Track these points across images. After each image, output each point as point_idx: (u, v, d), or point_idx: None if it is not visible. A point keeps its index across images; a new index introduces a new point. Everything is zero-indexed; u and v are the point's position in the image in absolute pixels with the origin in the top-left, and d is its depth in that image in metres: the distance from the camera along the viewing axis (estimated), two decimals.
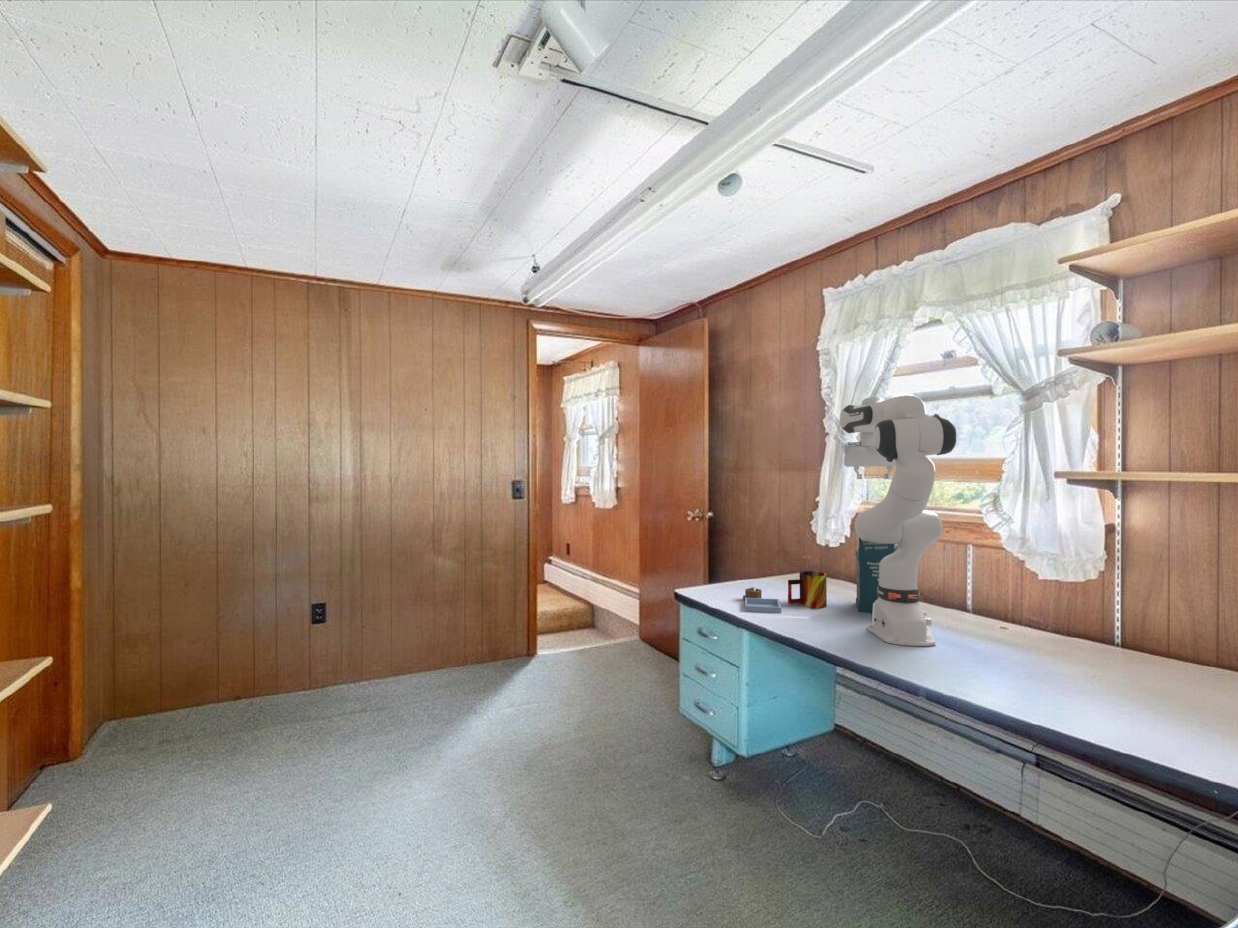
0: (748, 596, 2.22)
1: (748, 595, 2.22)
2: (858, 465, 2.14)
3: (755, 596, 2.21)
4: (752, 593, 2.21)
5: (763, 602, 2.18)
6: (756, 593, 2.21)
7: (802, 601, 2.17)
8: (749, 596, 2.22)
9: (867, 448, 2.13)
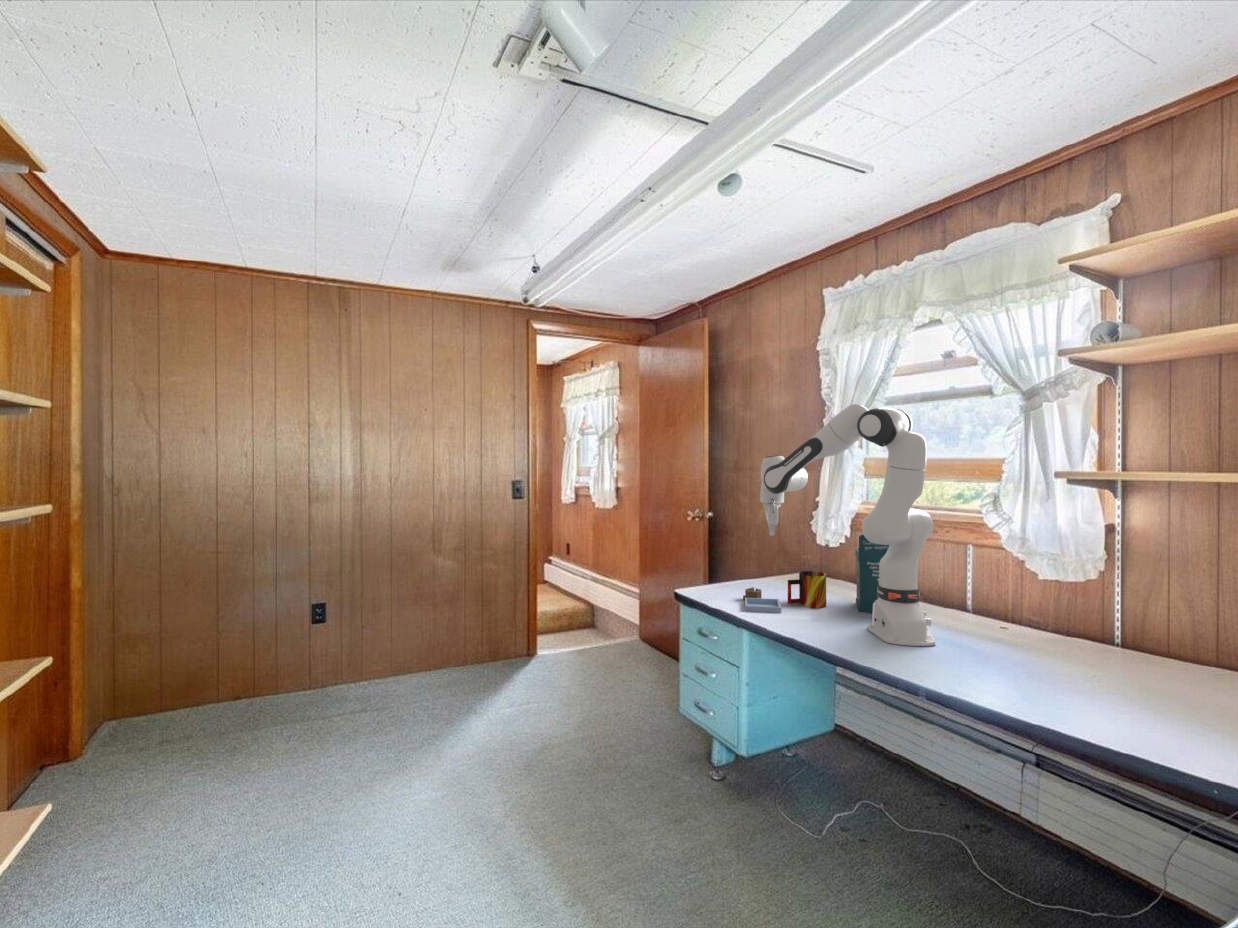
0: (748, 596, 2.22)
1: (748, 595, 2.22)
2: None
3: (755, 596, 2.21)
4: (752, 593, 2.21)
5: (763, 602, 2.18)
6: (756, 593, 2.21)
7: (802, 601, 2.17)
8: (749, 596, 2.22)
9: (777, 505, 2.19)
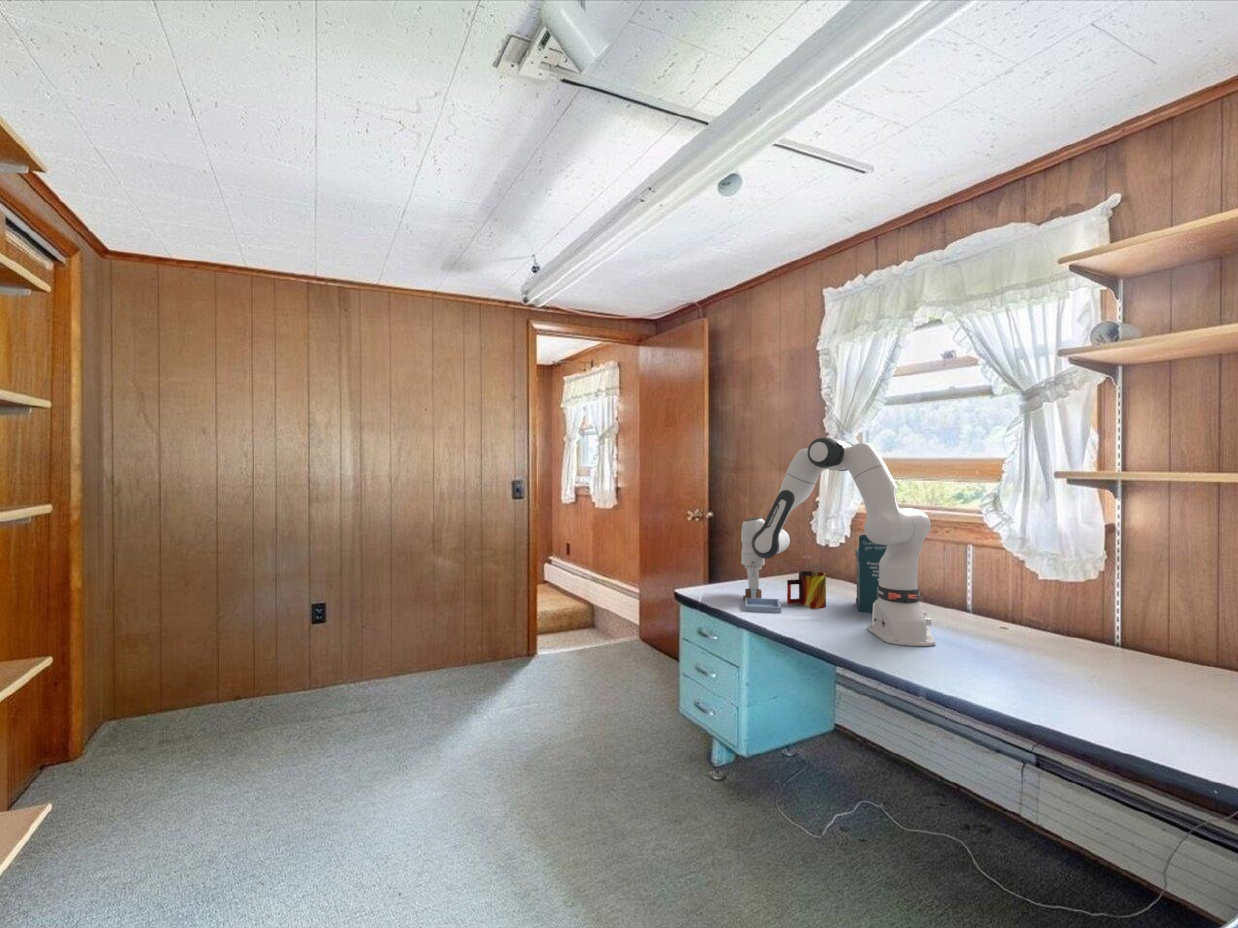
0: (748, 596, 2.22)
1: (748, 595, 2.22)
2: None
3: None
4: None
5: (763, 602, 2.18)
6: (756, 593, 2.21)
7: (801, 601, 2.17)
8: (749, 596, 2.22)
9: (758, 567, 2.21)
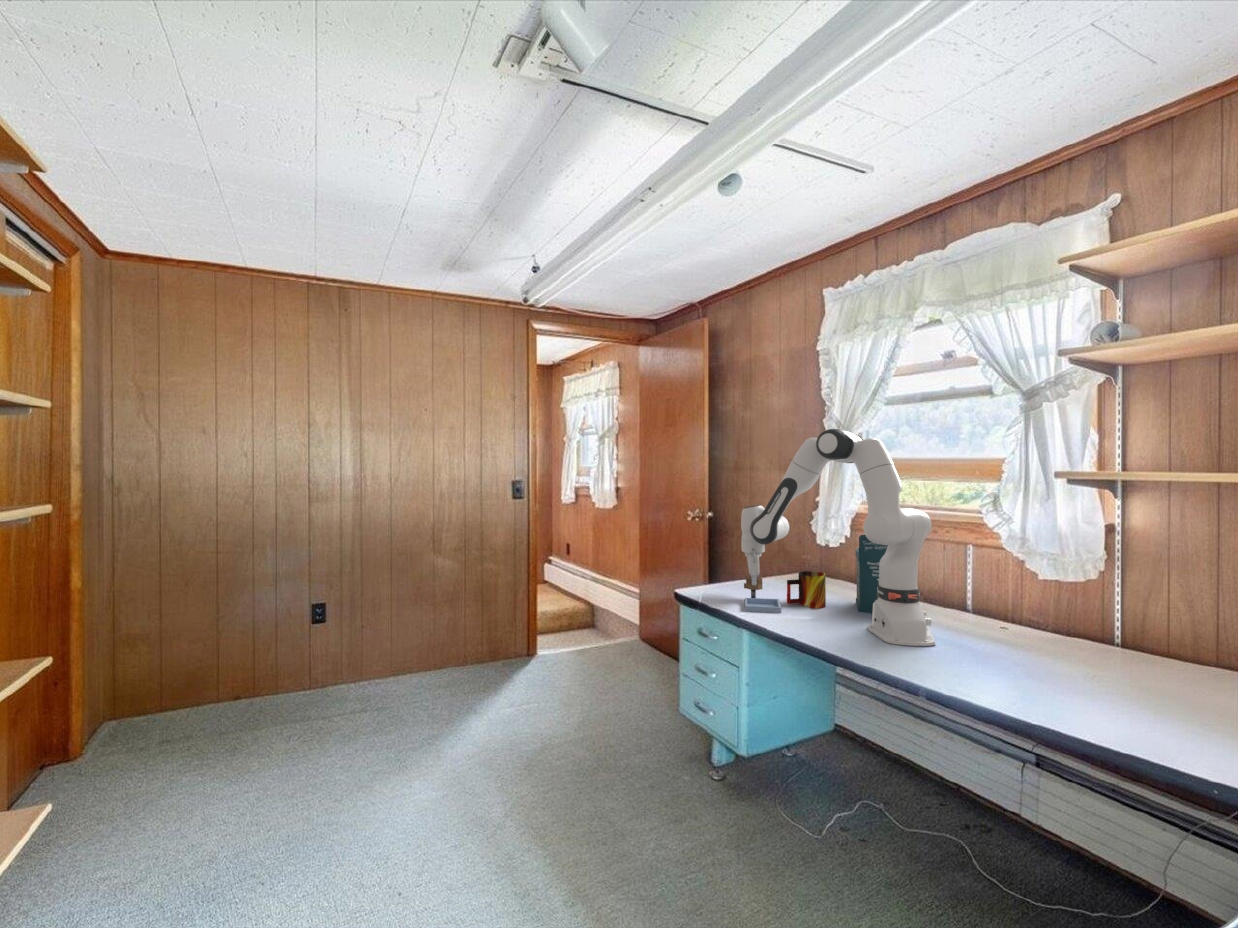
0: (749, 584, 2.22)
1: (749, 583, 2.22)
2: None
3: None
4: None
5: (763, 602, 2.18)
6: (757, 581, 2.20)
7: (801, 601, 2.17)
8: (750, 584, 2.21)
9: (758, 554, 2.21)
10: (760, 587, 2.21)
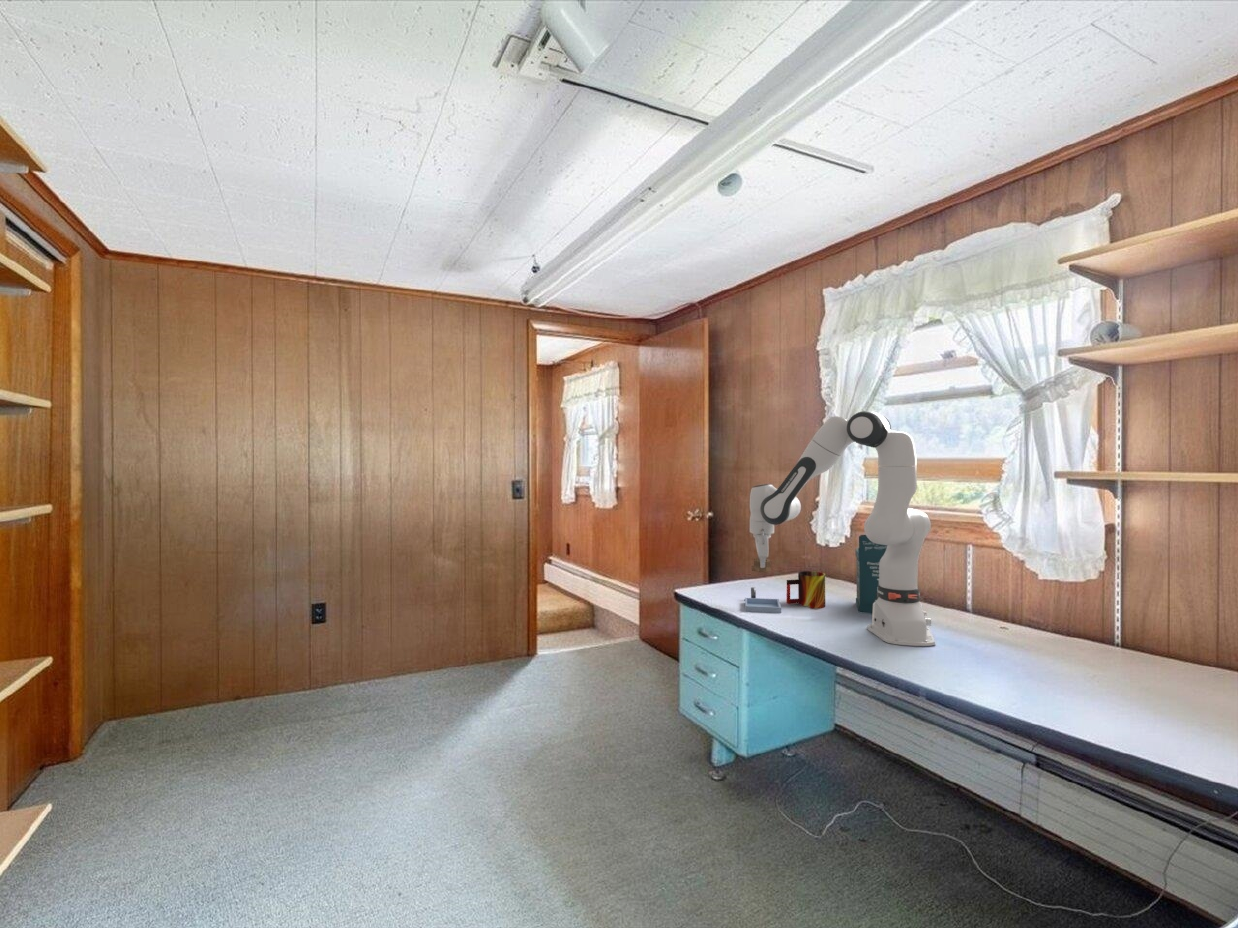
0: (757, 566, 2.11)
1: (757, 565, 2.11)
2: None
3: None
4: None
5: (763, 602, 2.18)
6: (765, 563, 2.10)
7: (801, 601, 2.17)
8: (758, 566, 2.11)
9: (768, 535, 2.10)
10: (769, 570, 2.11)
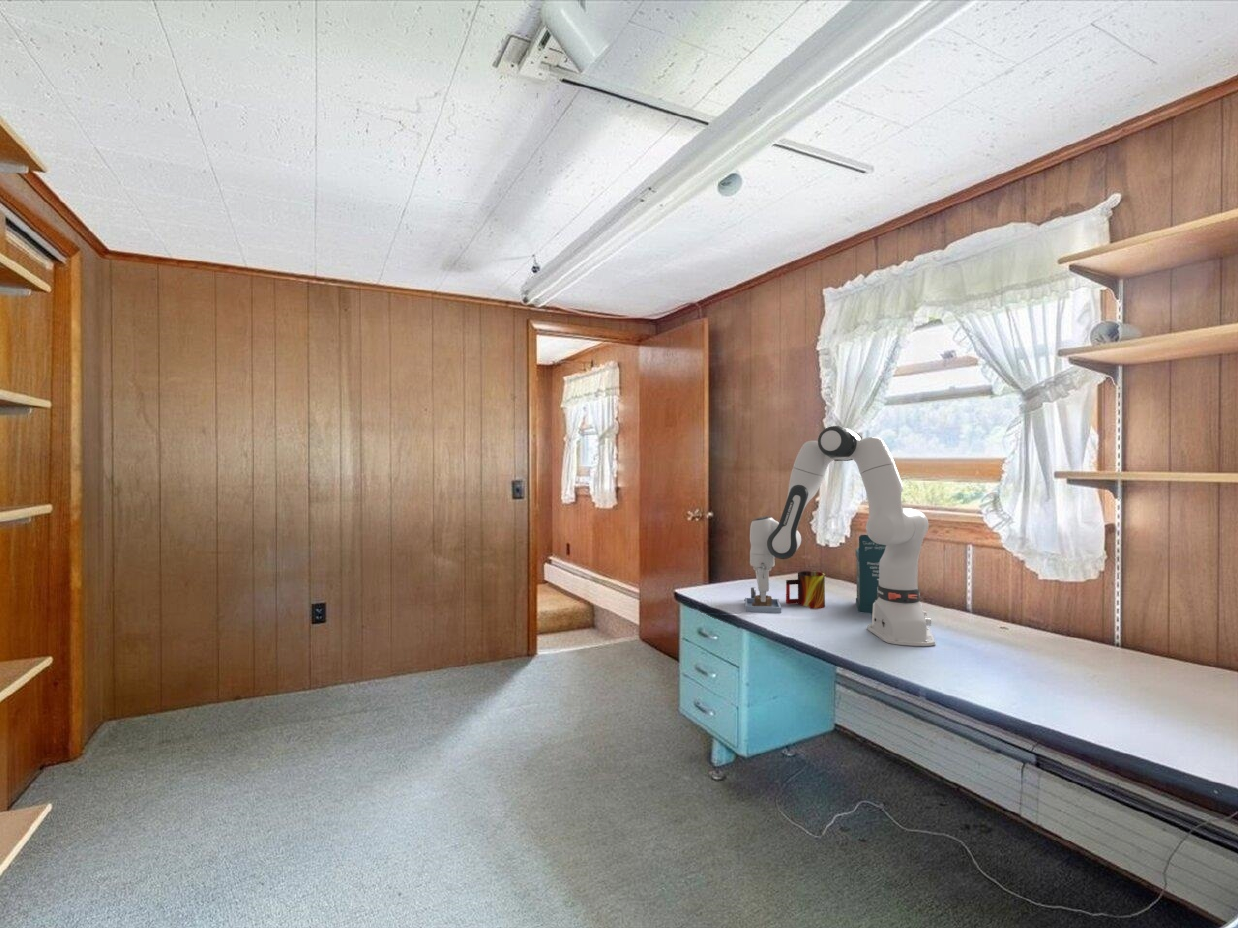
0: (758, 603, 2.11)
1: (758, 602, 2.11)
2: None
3: (765, 603, 2.10)
4: None
5: None
6: (766, 600, 2.10)
7: (800, 601, 2.17)
8: (759, 603, 2.11)
9: (768, 568, 2.10)
10: None
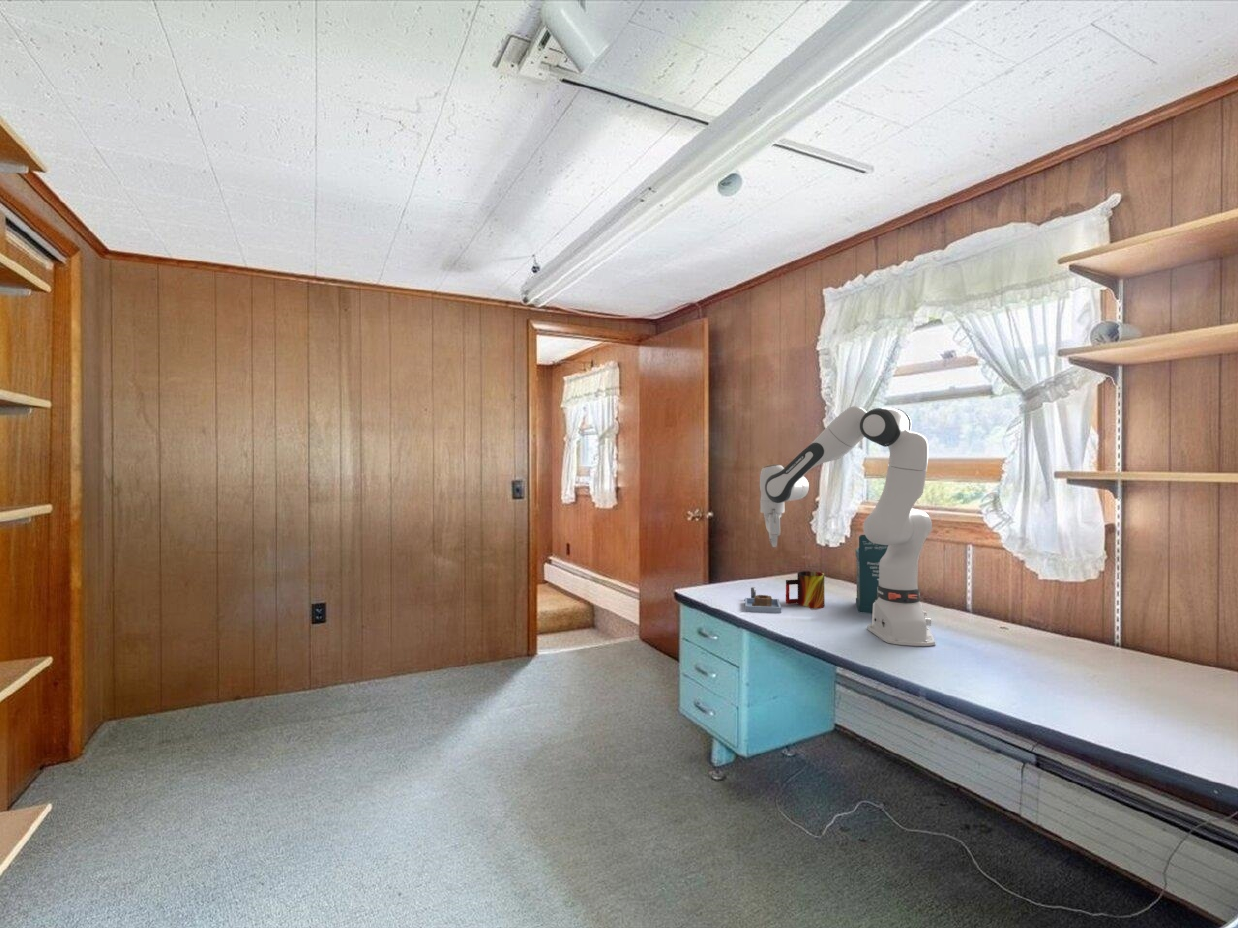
0: (758, 603, 2.11)
1: (758, 602, 2.11)
2: None
3: (765, 603, 2.10)
4: (762, 600, 2.10)
5: None
6: (766, 600, 2.10)
7: (800, 601, 2.17)
8: (759, 603, 2.11)
9: (778, 515, 2.14)
10: None
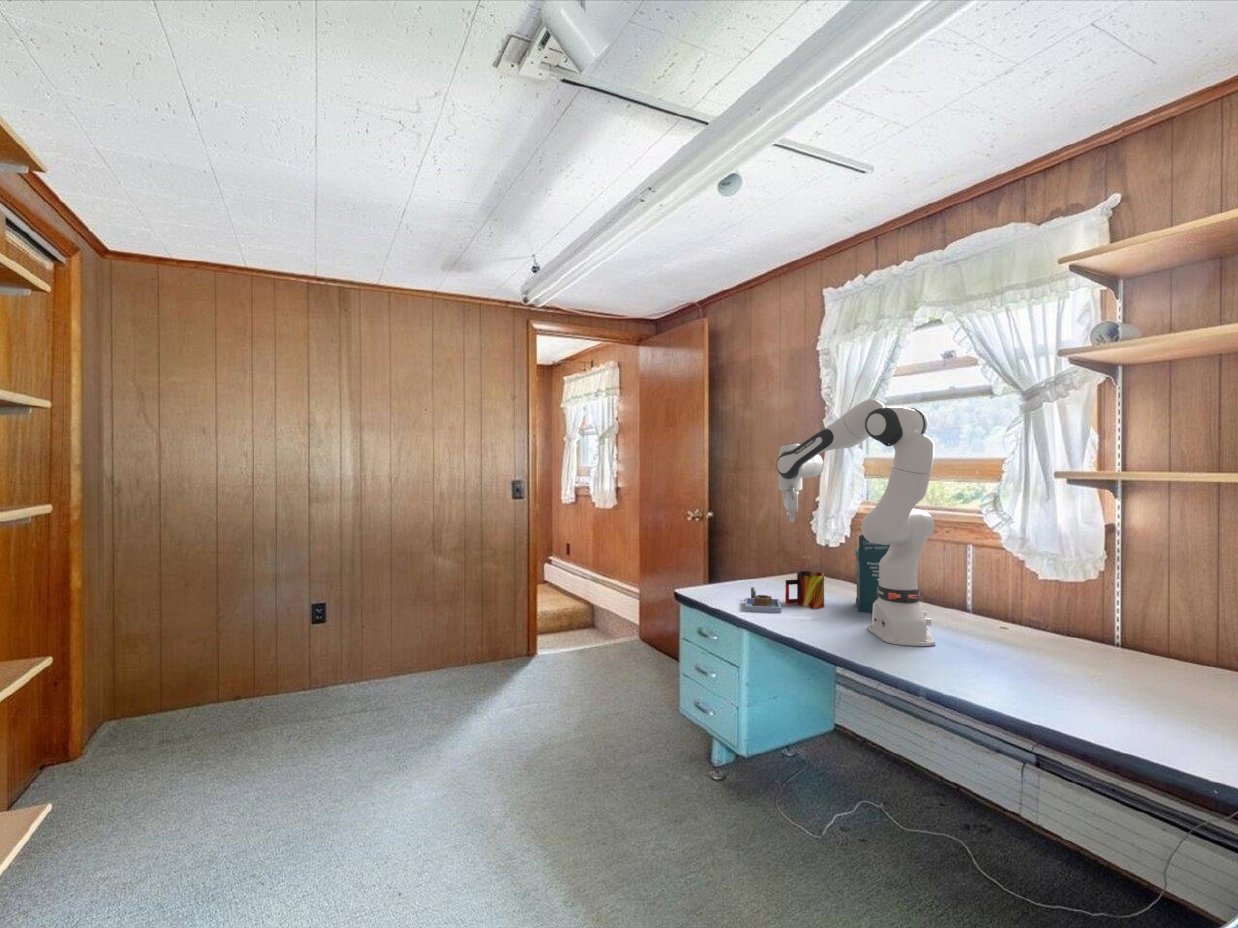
0: (758, 603, 2.11)
1: (758, 602, 2.11)
2: None
3: (765, 603, 2.10)
4: (762, 600, 2.10)
5: None
6: (766, 600, 2.10)
7: (800, 601, 2.16)
8: (759, 603, 2.11)
9: (796, 492, 2.22)
10: None
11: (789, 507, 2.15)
